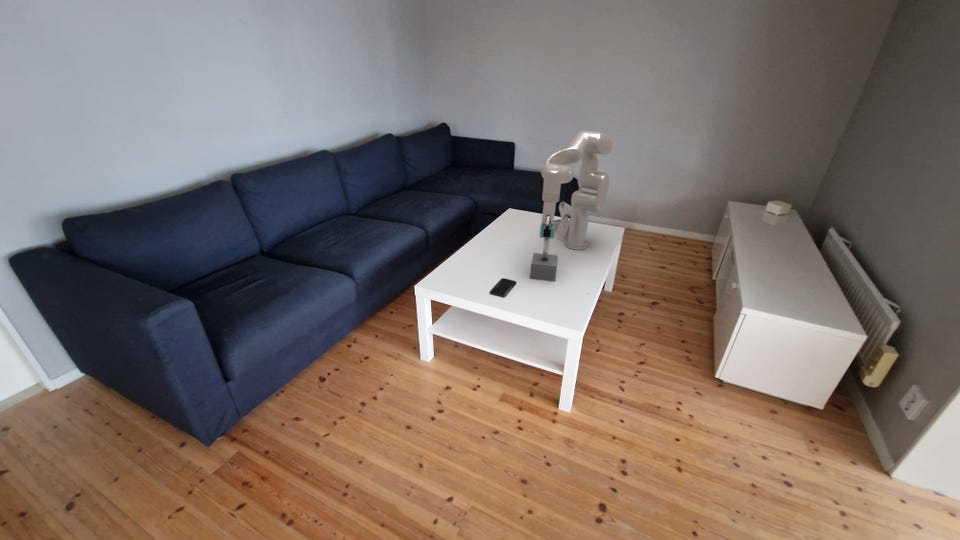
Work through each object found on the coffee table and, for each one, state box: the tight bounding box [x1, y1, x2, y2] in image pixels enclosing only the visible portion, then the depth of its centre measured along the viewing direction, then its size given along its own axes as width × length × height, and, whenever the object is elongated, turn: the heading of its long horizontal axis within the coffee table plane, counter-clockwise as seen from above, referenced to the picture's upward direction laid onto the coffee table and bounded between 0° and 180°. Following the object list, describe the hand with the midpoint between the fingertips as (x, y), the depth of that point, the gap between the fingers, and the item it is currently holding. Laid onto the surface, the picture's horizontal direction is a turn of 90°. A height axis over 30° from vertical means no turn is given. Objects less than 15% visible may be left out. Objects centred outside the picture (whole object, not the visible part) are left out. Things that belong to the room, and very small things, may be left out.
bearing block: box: [529, 252, 559, 282], centre depth 191 cm, size 12×12×8 cm
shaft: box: [542, 238, 551, 261], centre depth 187 cm, size 2×2×14 cm
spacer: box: [539, 222, 555, 240], centre depth 182 cm, size 6×6×5 cm
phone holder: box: [553, 201, 572, 242], centre depth 232 cm, size 17×10×18 cm, turn 21°
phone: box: [489, 277, 517, 298], centre depth 181 cm, size 8×1×15 cm
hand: (547, 233), depth 183 cm, fingers closed on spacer, 6 cm apart
